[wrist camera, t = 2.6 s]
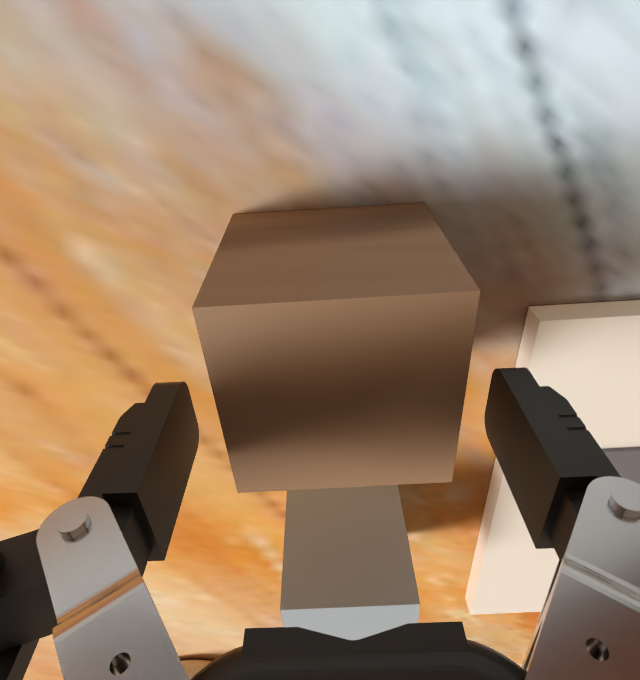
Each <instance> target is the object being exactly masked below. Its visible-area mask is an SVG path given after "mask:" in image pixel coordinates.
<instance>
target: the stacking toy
mask: <svg viewBox="0 0 640 680" xmlns="http://www.w3.org/2000/svg"><path fill="white" fill-rule="evenodd" d="M210 662H212V661H208V660H183V661H181V663H182V665H183V667H184V669H185V672H186V674H187V676H188V678H189V680H190V679H191V678H192V677H193V676H194V675H195V674H196V673H197V672H199V671H200V670H201V669H202V668H204V667H205V666H206V665H207V664H209V663H210Z"/></svg>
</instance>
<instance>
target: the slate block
mask: <svg viewBox="0 0 640 680" xmlns="http://www.w3.org/2000/svg"><path fill="white" fill-rule="evenodd" d="M419 609H420V601H419V596H418V590H417V585H416V580H415V574H414V569H413V563H412V558H411V553H410V547H409V542H408V536H407V531H406V526H405V520H404V515H403V509H402V504H401V498H400V493H399V488H398V485H384V486H364V487H344V488H324V489H304V490H287V501H286V518H285V536H284V553H283V571H282V588H281V606H280V611H281V616H282V621H283V625H284V627H300V628H304V629H308V630H312V631H316V632H320V633H324V634H328V635H332V636H335V637H339V638H343V639H347V640H359V639H362V638H365V637H368V636H371V635H374V634H377V633H380V632H384V631H387V630H390V629H393V628H396V627H399V626H402V625H405V624H408V623H418V617H419Z"/></svg>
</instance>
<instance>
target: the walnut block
mask: <svg viewBox="0 0 640 680" xmlns="http://www.w3.org/2000/svg"><path fill="white" fill-rule="evenodd" d="M479 297H480V289H479V288H478V286H477V285H476V283H475V281H474V280H473V278H472V277H471V275H470V274H469V272H468V271H467V269H466V267H465V266H464V264H463V263H462V261H461V260H460V258H459V257H458V255H457V253H456V252H455V250H454V249H453V247H452V246H451V244H450V243H449V241H448V239H447V238H446V236H445V235H444V233H443V232H442V230H441V229H440V227H439V225H438V224H437V222H436V221H435V219H434V218H433V216H432V215H431V213H430V211H429V210H428V208H427V207H426V205H425V204H424V202H417V203H402V204H386V205H370V206H355V207H339V208H324V209H308V210H292V211H277V212H261V213H245V214H233V215H232V217H231V220H230V222H229V224H228V226H227V229H226V231H225V233H224V236H223V238H222V240H221V243H220V245H219V247H218V249H217V252H216V254H215V256H214V259H213V261H212V263H211V266H210V268H209V270H208V272H207V275H206V277H205V279H204V282H203V284H202V286H201V289H200V291H199V293H198V295H197V298H196V300H195V302H194V305H193V307H192V309H193V314H194V318H195V322H196V326H197V330H198V334H199V338H200V342H201V346H202V350H203V354H204V358H205V362H206V366H207V370H208V374H209V378H210V382H211V386H212V391H213V395H214V399H215V403H216V407H217V411H218V415H219V419H220V423H221V427H222V431H223V435H224V439H225V443H226V447H227V451H228V455H229V459H230V463H231V468H232V472H233V476H234V480H235V484H236V488H237V492H238V493H244V492H264V491H284V490H304V489H324V488H344V487H364V486H384V485H404V484H424V483H444V482H452V478H453V471H454V465H455V458H456V451H457V445H458V438H459V431H460V425H461V418H462V411H463V405H464V398H465V391H466V384H467V378H468V371H469V364H470V358H471V351H472V344H473V338H474V331H475V324H476V318H477V311H478V304H479Z"/></svg>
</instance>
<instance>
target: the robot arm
mask: <svg viewBox="0 0 640 680" xmlns="http://www.w3.org/2000/svg"><path fill="white" fill-rule="evenodd" d="M485 428H486V433H487V437H488V439H489V441H490V444H491V446H492V448H493V451H494V453H495V455H496V458H497V460H498V462H499V465H500V467H501V469H502V472H503V474H504V476H505V478H506V481H507V483H508V485H509V488H510V490H511V492H512V495H513V497H514V499H515V502H516V504H517V506H518V509H519V511H520V513H521V515H522V518H523V520H524V522H525V525H526V527H527V529H528V532H529V534H530V536H531V539H532V541H533V543H534V546H535V548H536V549H548V548H554V549H555V551H556V553H557V556H558V558H559V561H558V564H557V567H556V570H555V572H554V575H553V578H552V581H551V584H550V587H549V590H548V593H547V596H546V599H545V602H544V605H543V608H542V611H541V614H540V616H539V619H538V622H537V625H536V628H535V631H534V634H533V637H532V640H531V643H530V645H529V648H528V651H527V653H526V656H525V659H524V662H523V665H522V667H520V666H518V665H517V664H516V663H515V662H513V661H512V660H510V659H509V658H507V657H506V656H504V655H503V654H501V653H499V652H497V651H495V650H493V649H491V648H489V647H487V646H485V645H482V644H480V643H477V642H474V641H471V640H467V639H466V636H465V632H464V628H463V624H462V622H437V623H408V624H405V625H402V626H399V627H396V628H393V629H390V630H387V631H384V632H380V633H377V634H374V635H371V636H368V637H365V638H362V639H359V640H347V639H343V638H339V637H335V636H332V635H328V634H324V633H320V632H316V631H312V630H308V629H304V628H300V627H278V628H247V629H245V633H244V641H243V646H242V647H239V648H236V649H233V650H231V651H229V652H227V653H225V654H223V655H221V656H219V657H218V658H216V659H215V660H213V661H212V662H210V663H209V664H207V665H206V666H205V667H204V668H202V669H201V670H200V671H199V672H197V673H196V674H195V675H194V676H193V677H192V678H191V679H190V680H640V484H638V483H636V482H633V481H631V480H628V479H625V478H622V477H621V476H620V475H619V473H618V472H617V470H616V469H615V467H614V466H613V465H612V463H611V462H610V460H609V459H608V457H607V456H606V455H605V453H604V452H603V450H602V449H601V447H600V446H599V445H598V443H597V442H596V440H595V439H594V437H593V436H592V435H591V433H590V432H589V430H586V426H585V425H584V423H583V422H582V420H581V419H580V417H577V413H576V412H575V410H574V409H573V407H572V406H571V405H570V403H569V402H568V400H567V399H566V398H565V397H563V396H562V395H560V394H559V393H558V392H556V391H555V390H554V389H552V388H551V387H550V386H539V385H538V383H537V382H536V380H535V378H534V377H533V375H532V374H531V372H530V371H529V370H528V369H527V368H525V367H522V368H500V369H495V370H494V371H493V374H492V378H491V384H490V389H489V394H488V400H487V405H486V410H485ZM198 442H199V429H198V423H197V419H196V416H195V412H194V408H193V404H192V400H191V396H190V393H189V389H188V386H187V384H186V383H185V382H167V383H155V384H154V385H153V387H152V389H151V391H150V393H149V395H148V397H147V399H146V401H145V403H135V404H134V405H133V406H132V407H131V408H130V409H128V410H127V411H126V412H125V413H124V414H123V415H122V416H121V417H120V418H119V420H118V422H117V424H116V426H115V428H114V430H113V432H112V436H110V437H109V439H108V441H107V443H106V445H105V449H103V451H102V453H101V454H100V456H99V458H98V460H97V462H96V464H95V466H94V468H93V470H92V472H91V473H90V475H89V477H88V479H87V481H86V483H85V485H84V487H83V489H82V491H81V492H80V494H79V496H78V498H77V499H74V500H71V501H69V502H67V503H65V504H63V505H62V506H60V507H59V508H57V509H56V510H54V511H53V512H52V513H51V514H50V515H49V516H48V517H47V518H46V519H45V520H44V522H43V523H42V525H41V526H40V528H39V529H38V530H35V531H32V532H29V533H26V534H22V535H19V536H16V537H13V538H9V539H6V540H3V541H0V680H23V677H24V675H25V672H26V670H27V667H28V665H29V663H30V660H31V658H32V655H33V653H34V650H35V648H36V646H37V643H38V641H39V638H42V637H45V636H48V635H50V634H53V639H54V643H55V647H56V651H57V655H58V659H59V663H60V667H61V671H62V675H63V679H64V680H189V678H188V676H187V674H186V672H185V669H184V667H183V665H182V663H181V661H180V658H179V656H178V654H177V652H176V650H175V648H174V645H173V643H172V641H171V639H170V637H169V635H168V632H167V630H166V628H165V626H164V624H163V621H162V619H161V617H160V615H159V613H158V611H157V608H156V606H155V604H154V602H153V600H152V597H151V595H150V593H149V591H148V589H147V586H146V584H145V582H144V580H143V578H142V577H143V574H144V571H145V567H146V564H147V561H163V560H165V557H166V553H167V550H168V546H169V543H170V540H171V536H172V533H173V530H174V526H175V523H176V519H177V516H178V513H179V509H180V506H181V502H182V499H183V496H184V492H185V489H186V486H187V482H188V479H189V475H190V472H191V469H192V465H193V462H194V459H195V455H196V452H197V448H198Z"/></svg>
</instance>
